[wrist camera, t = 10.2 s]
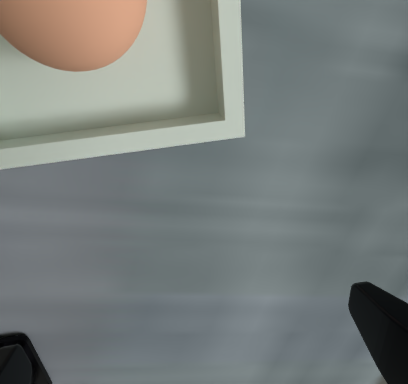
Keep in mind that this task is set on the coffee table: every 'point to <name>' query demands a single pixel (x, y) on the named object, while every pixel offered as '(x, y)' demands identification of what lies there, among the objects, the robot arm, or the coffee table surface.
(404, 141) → the coffee table surface
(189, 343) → the coffee table surface
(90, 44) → the ball
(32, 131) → the tray
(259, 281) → the coffee table surface
